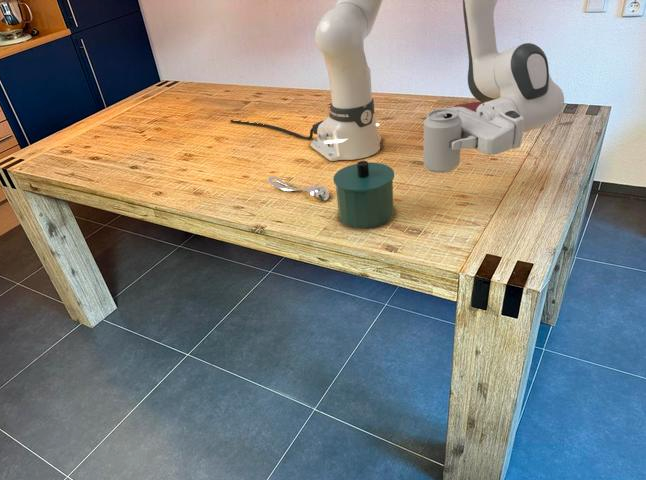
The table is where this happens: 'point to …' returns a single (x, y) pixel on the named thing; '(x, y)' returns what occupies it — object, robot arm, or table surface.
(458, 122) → the can
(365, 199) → the pot
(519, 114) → the robot arm
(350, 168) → the pot lid
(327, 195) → the silver spoon
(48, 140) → the table surface
